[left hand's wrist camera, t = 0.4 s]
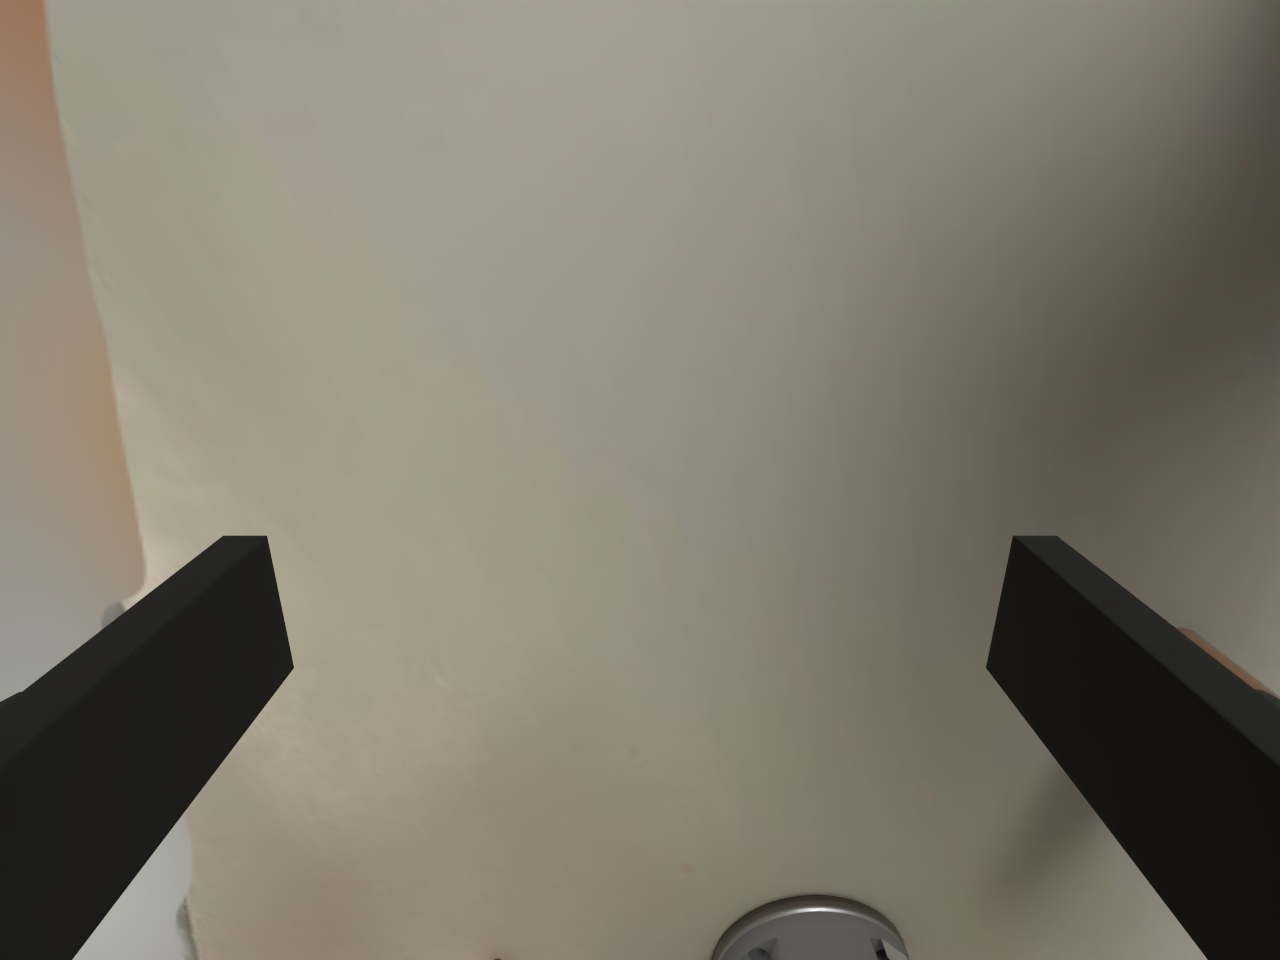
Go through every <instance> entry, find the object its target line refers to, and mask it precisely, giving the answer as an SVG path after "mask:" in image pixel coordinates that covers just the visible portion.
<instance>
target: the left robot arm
mask: <svg viewBox="0 0 1280 960" xmlns="http://www.w3.org/2000/svg"><path fill="white" fill-rule="evenodd" d="M293 668H294V666H293V661H292V656H291V651H290V646H289V641H288V636H287V631H286V627H285V622H284V617H283V612H282V607H281V602H280V597H279V592H278V587H277V583H276V578H275V573H274V568H273V563H272V558H271V553H270V548H269V544H268V539H267V536H222V537H221V538H220V539H219V540H217V541H216V542H215V543H213V544H212V545H211V546H210V547H208V548H207V549H206V550H204V551H203V552H202V553H201V554H199V555H198V556H197V557H195V558H194V559H193V560H191V561H190V562H189V563H188V564H186V565H185V566H184V567H182V568H181V569H180V570H179V571H177V572H176V573H175V574H173V575H172V576H171V577H170V578H168V579H167V580H166V581H164V582H163V583H162V584H161V585H159V586H158V587H157V588H155V589H154V590H153V591H152V592H150V593H149V594H148V595H146V596H145V597H144V598H143V599H141V600H140V601H139V602H137V603H136V604H135V605H133V606H132V607H131V608H130V609H128V610H127V611H126V612H124V613H123V614H122V615H121V616H119V617H118V618H117V619H115V620H114V621H113V622H112V623H110V624H109V625H108V626H106V627H105V628H104V629H103V630H101V631H100V632H99V633H97V634H96V635H95V636H94V637H92V638H91V639H90V640H88V641H87V642H86V643H85V644H83V645H82V646H81V647H79V648H78V649H77V650H76V651H74V652H73V653H72V654H70V655H69V656H68V657H67V658H65V659H64V660H63V661H61V662H60V663H59V664H57V665H56V666H55V667H54V668H52V669H51V670H50V671H48V672H47V673H46V674H45V675H43V676H42V677H41V678H39V679H38V680H37V681H36V682H34V683H33V684H32V685H30V686H29V687H28V688H27V689H25V690H24V691H23V692H19V693H17V694H15V695H13V696H11V697H9V698H7V699H5V700H3V701H1V702H0V960H72V959H73V958H74V956H75V955H76V954H77V953H78V951H79V950H80V949H81V947H82V946H83V945H84V943H85V942H86V941H87V939H88V938H89V937H90V935H91V934H92V933H93V931H94V930H95V929H96V927H97V926H98V925H99V924H100V922H101V921H102V920H103V918H104V917H105V916H106V914H107V913H108V912H109V910H110V909H111V908H112V906H113V905H114V904H115V903H116V901H117V900H118V899H119V897H120V896H121V895H122V893H123V892H124V891H125V889H126V888H127V887H128V885H129V884H130V883H131V881H132V880H133V879H134V877H135V876H136V875H137V873H138V872H139V871H140V870H141V868H142V867H143V866H144V864H145V863H146V862H147V860H148V859H149V858H150V856H151V855H152V854H153V852H154V851H155V850H156V849H157V847H158V846H159V845H160V843H161V842H162V841H163V839H164V838H165V837H166V835H167V834H168V833H169V831H170V830H171V829H172V828H173V826H174V825H175V823H176V822H177V821H178V820H179V818H180V817H181V816H182V814H183V813H184V812H185V810H186V809H187V808H188V806H189V805H190V804H191V803H192V801H193V800H194V799H195V797H196V796H197V795H198V793H199V792H200V791H201V789H202V788H203V787H204V785H205V784H206V783H207V781H208V780H209V779H210V778H211V776H212V775H213V774H214V772H215V771H216V770H217V768H218V767H219V766H220V764H221V763H222V762H223V760H224V759H225V758H226V756H227V755H228V754H229V753H230V751H231V750H232V749H233V747H234V746H235V745H236V743H237V742H238V741H239V739H240V738H241V737H242V735H243V734H244V733H245V731H246V730H247V729H248V728H249V726H250V725H251V724H252V722H253V721H254V720H255V718H256V717H257V716H258V714H259V713H260V712H261V710H262V709H263V708H264V706H265V705H266V704H267V703H268V701H269V700H270V699H271V697H272V696H273V695H274V693H275V692H276V691H277V689H278V688H279V687H280V685H281V684H282V683H283V681H284V680H285V679H286V678H287V676H288V675H289V674H290V672H291V671H292V670H293ZM986 668H987V670H988V671H989V672H990V674H991V675H992V676H993V678H994V679H995V680H996V681H997V683H998V684H999V685H1000V687H1001V688H1002V689H1003V691H1004V692H1005V693H1006V695H1007V696H1008V697H1009V699H1010V700H1011V701H1012V703H1013V704H1014V705H1015V706H1016V708H1017V709H1018V710H1019V712H1020V713H1021V714H1022V716H1023V717H1024V718H1025V720H1026V721H1027V722H1028V724H1029V725H1030V726H1031V728H1032V729H1033V730H1034V731H1035V733H1036V734H1037V735H1038V737H1039V738H1040V739H1041V741H1042V742H1043V743H1044V745H1045V746H1046V747H1047V749H1048V750H1049V751H1050V753H1051V754H1052V755H1053V756H1054V758H1055V759H1056V760H1057V762H1058V763H1059V764H1060V766H1061V767H1062V768H1063V770H1064V771H1065V772H1066V774H1067V775H1068V776H1069V778H1070V779H1071V780H1072V781H1073V783H1074V784H1075V785H1076V787H1077V788H1078V789H1079V791H1080V792H1081V793H1082V795H1083V796H1084V797H1085V799H1086V800H1087V801H1088V803H1089V804H1090V805H1091V806H1092V808H1093V809H1094V810H1095V812H1096V813H1097V814H1098V816H1099V817H1100V818H1101V820H1102V821H1103V822H1104V824H1105V825H1106V826H1107V828H1108V829H1109V830H1110V831H1111V833H1112V834H1113V835H1114V837H1115V838H1116V839H1117V841H1118V842H1119V843H1120V845H1121V846H1122V847H1123V849H1124V850H1125V851H1126V853H1127V854H1128V855H1129V856H1130V858H1131V859H1132V860H1133V862H1134V863H1135V864H1136V866H1137V867H1138V868H1139V870H1140V871H1141V872H1142V874H1143V875H1144V876H1145V878H1146V879H1147V880H1148V881H1149V883H1150V884H1151V885H1152V887H1153V888H1154V889H1155V891H1156V892H1157V893H1158V895H1159V896H1160V897H1161V899H1162V900H1163V901H1164V903H1165V904H1166V905H1167V906H1168V908H1169V909H1170V910H1171V912H1172V913H1173V914H1174V916H1175V917H1176V918H1177V920H1178V921H1179V922H1180V924H1181V925H1182V926H1183V928H1184V929H1185V930H1186V931H1187V933H1188V934H1189V935H1190V937H1191V938H1192V939H1193V941H1194V942H1195V943H1196V945H1197V946H1198V947H1199V949H1200V950H1201V951H1202V953H1203V954H1204V955H1205V956H1206V958H1207V959H1208V960H1280V699H1279V698H1277V697H1275V696H1273V695H1271V694H1269V693H1267V692H1265V691H1263V690H1255V689H1253V688H1252V687H1251V686H1250V685H1248V684H1247V683H1246V682H1244V681H1243V680H1242V679H1241V678H1239V677H1238V676H1237V675H1235V674H1234V673H1233V672H1232V671H1230V670H1229V669H1228V668H1226V667H1225V666H1224V665H1223V664H1221V663H1220V662H1219V661H1217V660H1216V659H1215V658H1214V657H1212V656H1211V655H1210V654H1208V653H1207V652H1206V651H1204V650H1203V649H1202V648H1201V647H1199V646H1198V645H1197V644H1195V643H1194V642H1193V641H1192V640H1190V639H1189V638H1188V637H1186V636H1185V635H1184V634H1183V633H1181V632H1180V631H1179V630H1177V629H1176V628H1175V627H1174V626H1172V625H1171V624H1170V623H1168V622H1167V621H1166V620H1165V619H1163V618H1162V617H1161V616H1159V615H1158V614H1157V613H1156V612H1154V611H1153V610H1152V609H1150V608H1149V607H1148V606H1146V605H1145V604H1144V603H1143V602H1141V601H1140V600H1139V599H1137V598H1136V597H1135V596H1134V595H1132V594H1131V593H1130V592H1128V591H1127V590H1126V589H1125V588H1123V587H1122V586H1121V585H1119V584H1118V583H1117V582H1116V581H1114V580H1113V579H1112V578H1110V577H1109V576H1108V575H1107V574H1105V573H1104V572H1103V571H1101V570H1100V569H1099V568H1098V567H1096V566H1095V565H1094V564H1092V563H1091V562H1090V561H1089V560H1087V559H1086V558H1085V557H1083V556H1082V555H1081V554H1079V553H1078V552H1077V551H1076V550H1074V549H1073V548H1072V547H1070V546H1069V545H1068V544H1067V543H1065V542H1064V541H1063V540H1061V539H1060V538H1059V537H1058V536H1013V539H1012V544H1011V548H1010V553H1009V558H1008V563H1007V568H1006V573H1005V578H1004V583H1003V587H1002V592H1001V597H1000V602H999V607H998V612H997V617H996V622H995V627H994V631H993V636H992V641H991V646H990V651H989V656H988V661H987V666H986ZM713 960H909V957H908V954H907V951H906V949H905V946H904V943H903V940H902V938H901V936H900V934H899V932H898V931H897V929H896V928H895V926H894V925H893V924H892V923H891V922H890V921H889V920H888V919H887V918H886V917H885V916H883V915H882V914H881V913H879V912H878V911H876V910H874V909H873V908H871V907H869V906H866V905H864V904H862V903H859V902H856V901H853V900H849V899H846V898H840V897H834V896H820V895H814V896H800V897H793V898H788V899H784V900H780V901H776V902H773V903H770V904H767V905H765V906H763V907H760V908H758V909H756V910H754V911H752V912H751V913H749V914H747V915H746V916H744V917H743V918H741V919H740V920H739V921H737V922H736V923H735V924H734V925H733V926H732V927H731V928H730V929H729V930H728V931H727V932H726V933H725V935H724V936H723V937H722V939H721V940H720V942H719V944H718V946H717V948H716V950H715V953H714V957H713Z"/></svg>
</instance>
